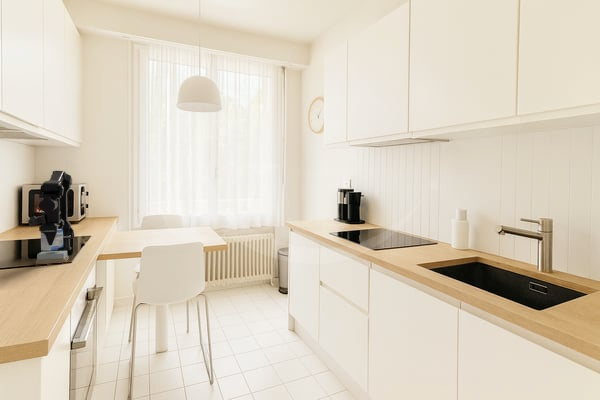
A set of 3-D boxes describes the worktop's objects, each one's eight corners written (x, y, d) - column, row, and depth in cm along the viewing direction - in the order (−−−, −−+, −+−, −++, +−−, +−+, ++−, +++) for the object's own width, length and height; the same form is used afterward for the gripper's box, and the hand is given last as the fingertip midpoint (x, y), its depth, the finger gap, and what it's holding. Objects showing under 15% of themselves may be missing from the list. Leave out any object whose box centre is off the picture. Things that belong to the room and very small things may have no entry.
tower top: (41, 257, 152) (41, 251, 152) (67, 255, 156) (67, 250, 156) (37, 260, 147) (37, 254, 146) (63, 258, 150) (63, 253, 150)
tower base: (40, 262, 152) (39, 257, 152) (68, 260, 157) (68, 255, 156) (35, 266, 145) (35, 260, 145) (65, 264, 150) (65, 259, 150)
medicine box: (50, 251, 147) (50, 232, 146) (40, 250, 147) (40, 231, 146) (63, 247, 155) (63, 229, 154) (54, 246, 155) (53, 228, 154)
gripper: (35, 207, 154) (35, 240, 155) (23, 212, 137) (24, 248, 138) (64, 207, 159) (64, 239, 160) (56, 212, 142) (56, 247, 144)
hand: (52, 243), depth 150 cm, fingers closed on medicine box, 9 cm apart
